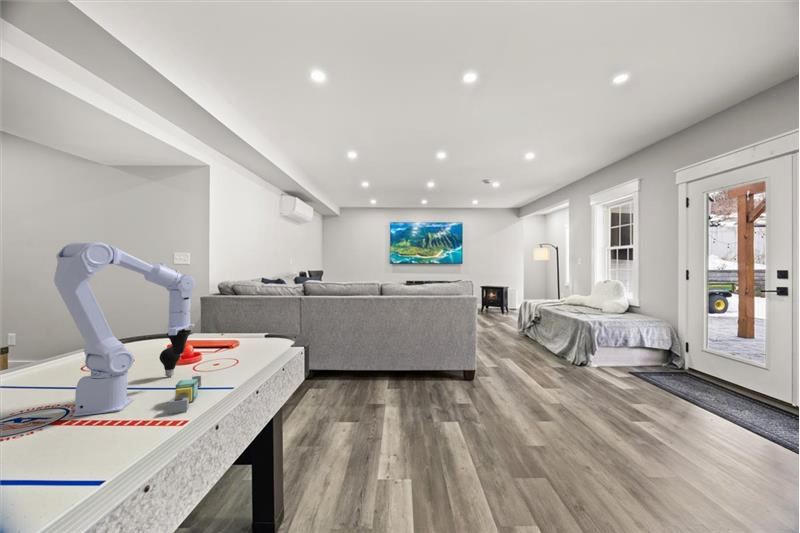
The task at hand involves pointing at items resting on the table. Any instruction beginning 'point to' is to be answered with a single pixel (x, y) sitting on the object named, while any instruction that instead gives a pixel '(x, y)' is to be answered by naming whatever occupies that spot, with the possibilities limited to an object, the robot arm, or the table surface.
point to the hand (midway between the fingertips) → (178, 353)
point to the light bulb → (169, 361)
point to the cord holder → (182, 398)
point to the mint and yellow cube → (187, 384)
